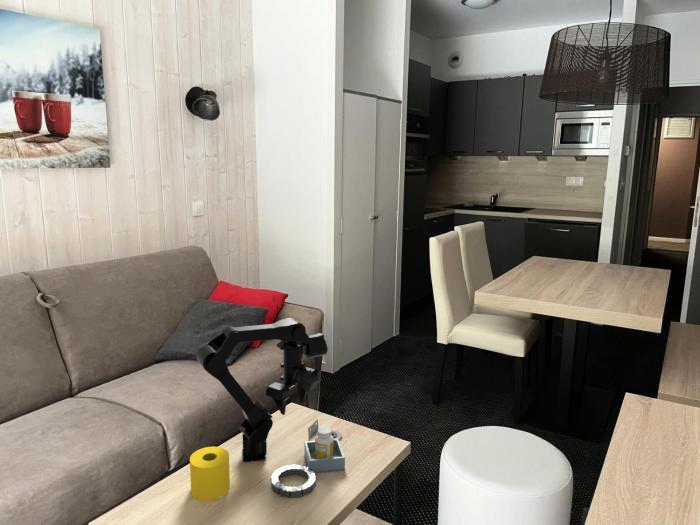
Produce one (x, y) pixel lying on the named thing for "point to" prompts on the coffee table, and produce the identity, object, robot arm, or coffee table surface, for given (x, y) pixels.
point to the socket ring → (293, 491)
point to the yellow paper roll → (209, 473)
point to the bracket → (314, 426)
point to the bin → (326, 463)
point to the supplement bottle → (324, 443)
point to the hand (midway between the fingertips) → (292, 408)
